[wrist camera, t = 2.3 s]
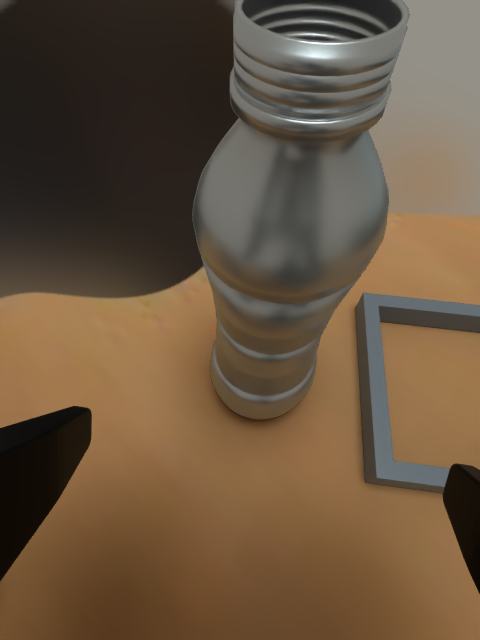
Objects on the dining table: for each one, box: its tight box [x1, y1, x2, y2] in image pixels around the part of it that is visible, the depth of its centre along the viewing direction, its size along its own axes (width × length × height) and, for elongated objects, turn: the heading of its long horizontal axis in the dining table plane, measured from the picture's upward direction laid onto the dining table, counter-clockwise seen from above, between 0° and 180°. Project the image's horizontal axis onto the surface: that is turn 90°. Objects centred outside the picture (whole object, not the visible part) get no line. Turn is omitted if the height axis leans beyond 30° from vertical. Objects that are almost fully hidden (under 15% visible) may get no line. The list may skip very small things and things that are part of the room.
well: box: [355, 293, 480, 493], centre depth 23 cm, size 12×12×2 cm
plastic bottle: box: [192, 0, 410, 420], centre depth 16 cm, size 6×7×20 cm
